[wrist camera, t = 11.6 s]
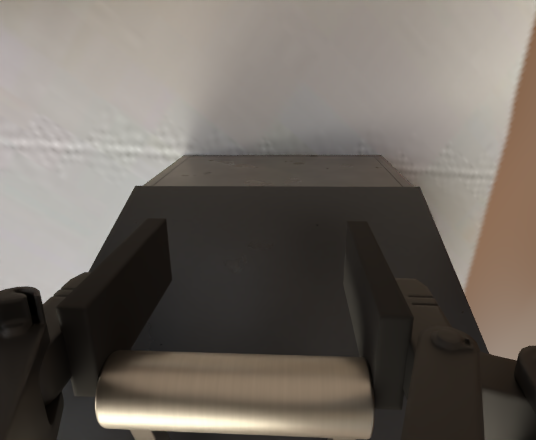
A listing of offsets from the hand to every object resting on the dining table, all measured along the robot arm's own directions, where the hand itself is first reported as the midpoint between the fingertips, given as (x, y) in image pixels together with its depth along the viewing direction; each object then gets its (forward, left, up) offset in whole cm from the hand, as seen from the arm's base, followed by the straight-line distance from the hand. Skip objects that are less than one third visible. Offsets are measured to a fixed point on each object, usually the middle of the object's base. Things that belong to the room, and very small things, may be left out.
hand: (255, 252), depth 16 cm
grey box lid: (0, -6, -5) cm, 8 cm away
